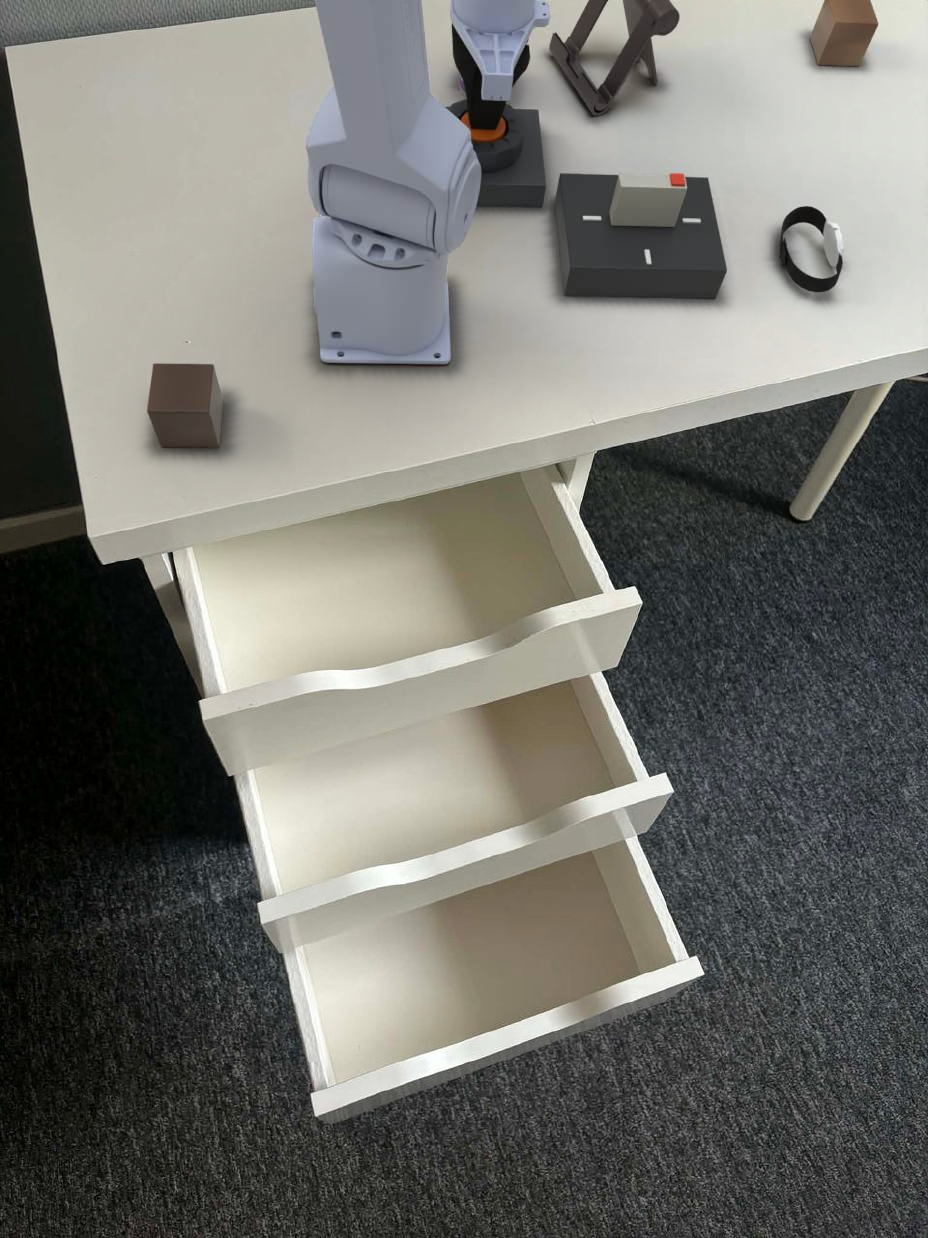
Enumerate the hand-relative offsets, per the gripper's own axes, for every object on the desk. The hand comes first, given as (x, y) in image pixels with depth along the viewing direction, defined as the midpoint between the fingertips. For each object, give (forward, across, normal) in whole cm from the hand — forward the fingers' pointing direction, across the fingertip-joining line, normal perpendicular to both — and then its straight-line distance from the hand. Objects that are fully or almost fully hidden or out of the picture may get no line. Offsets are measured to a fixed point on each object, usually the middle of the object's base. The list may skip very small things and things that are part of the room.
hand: (483, 123), depth 75 cm
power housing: (+4, 0, 0) cm, 4 cm away
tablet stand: (+4, +12, -12) cm, 17 cm away
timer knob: (+1, -9, -12) cm, 15 cm away
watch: (+4, -10, -26) cm, 28 cm away
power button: (+2, 0, 0) cm, 2 cm away
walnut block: (+4, -26, +21) cm, 34 cm away
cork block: (+4, +17, -34) cm, 38 cm away
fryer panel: (+4, -9, -12) cm, 16 cm away
